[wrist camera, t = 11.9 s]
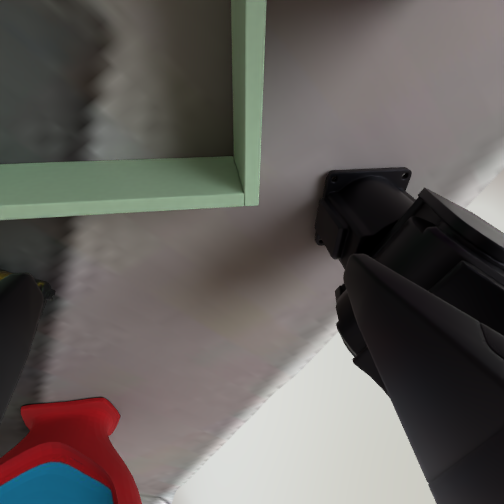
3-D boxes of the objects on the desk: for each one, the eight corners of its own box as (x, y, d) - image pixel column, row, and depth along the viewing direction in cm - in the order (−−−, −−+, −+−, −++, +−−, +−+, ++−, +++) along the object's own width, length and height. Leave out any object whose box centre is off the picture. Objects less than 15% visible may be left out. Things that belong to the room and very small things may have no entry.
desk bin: (247, -206, 11) (280, -348, 7) (245, 166, 20) (258, 205, 16) (-333, -280, 9) (-834, -565, 4) (-40, 178, 18) (-115, 227, 14)
